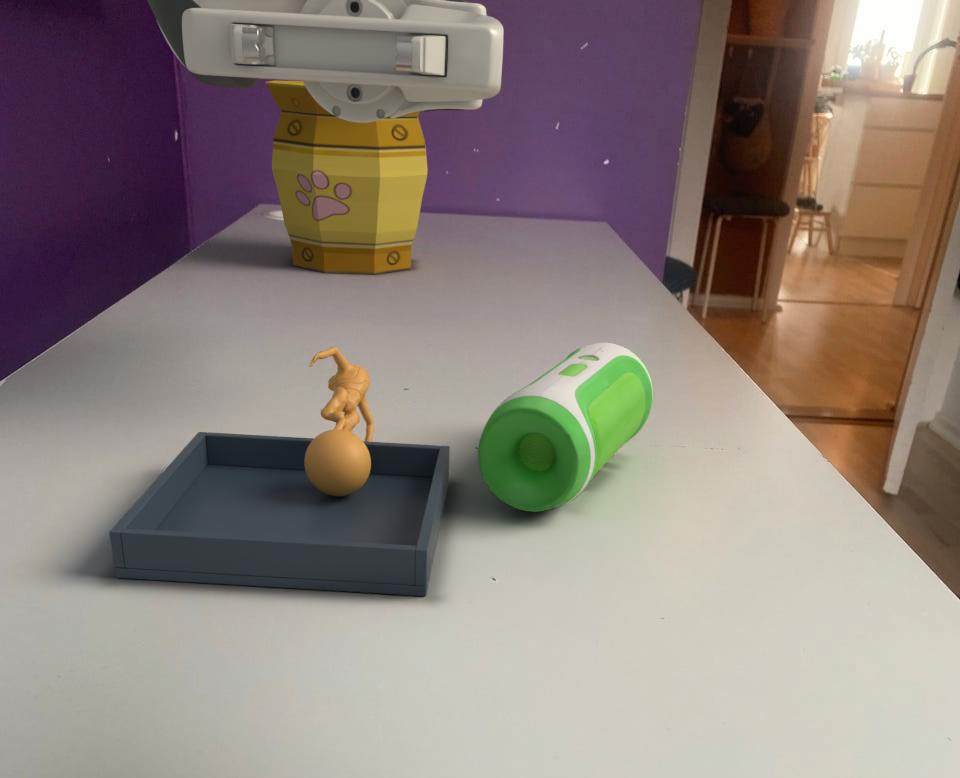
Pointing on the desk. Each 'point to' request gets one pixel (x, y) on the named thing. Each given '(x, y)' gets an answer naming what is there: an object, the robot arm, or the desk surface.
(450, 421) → the desk surface
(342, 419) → the figurine
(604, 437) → the speaker
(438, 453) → the tray
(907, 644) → the desk surface
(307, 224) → the container
